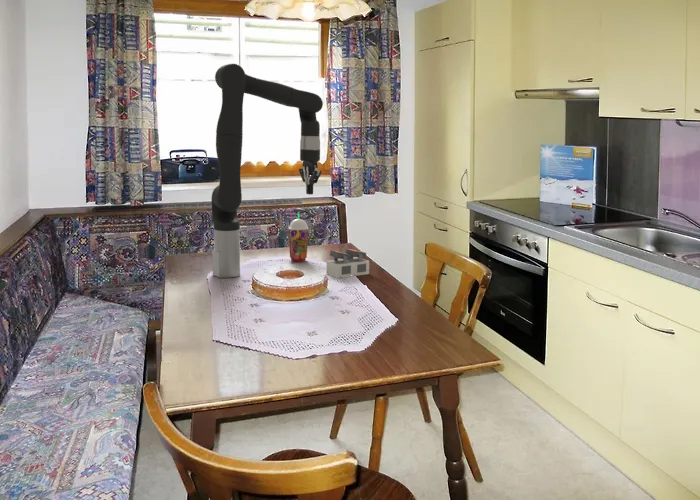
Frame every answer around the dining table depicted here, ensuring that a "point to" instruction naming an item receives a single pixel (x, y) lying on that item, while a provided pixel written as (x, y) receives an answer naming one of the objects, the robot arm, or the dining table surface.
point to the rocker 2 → (355, 253)
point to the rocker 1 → (339, 254)
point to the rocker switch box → (347, 266)
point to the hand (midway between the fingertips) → (309, 194)
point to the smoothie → (298, 240)
